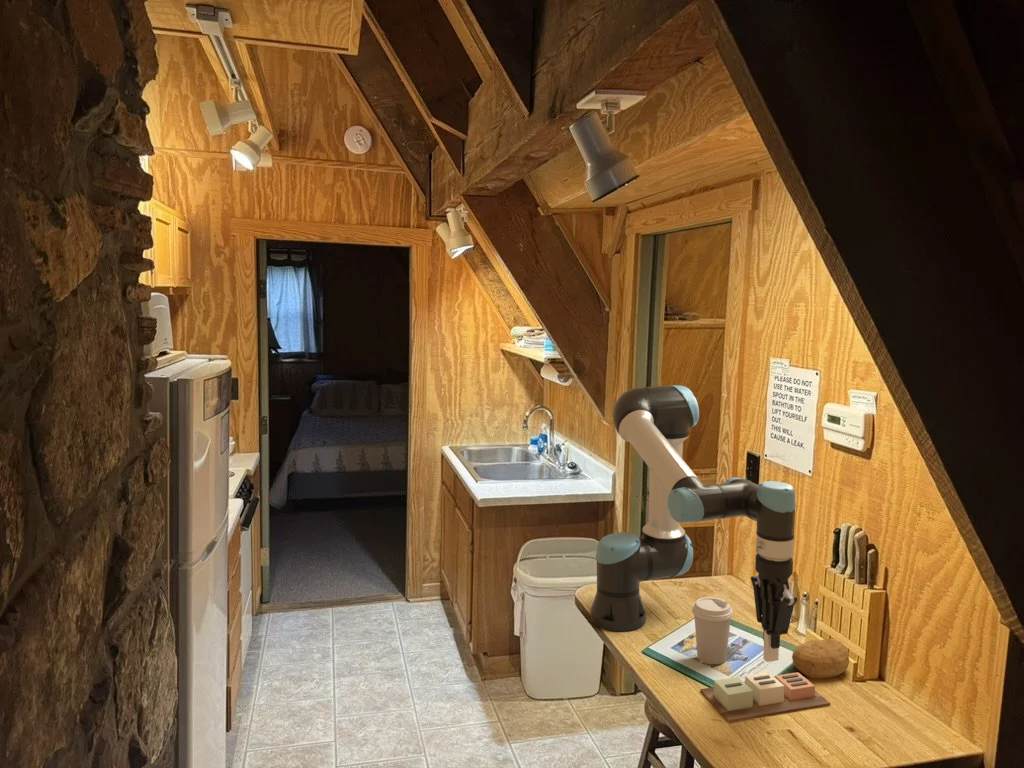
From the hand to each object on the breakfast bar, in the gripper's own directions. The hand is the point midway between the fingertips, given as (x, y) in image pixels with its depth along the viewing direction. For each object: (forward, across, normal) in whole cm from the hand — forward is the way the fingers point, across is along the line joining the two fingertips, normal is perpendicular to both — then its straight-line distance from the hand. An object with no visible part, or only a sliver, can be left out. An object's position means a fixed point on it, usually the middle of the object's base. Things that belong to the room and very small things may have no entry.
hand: (770, 659), depth 154 cm
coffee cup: (+10, -19, -3) cm, 22 cm away
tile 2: (+9, 0, -2) cm, 9 cm away
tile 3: (+10, +1, +6) cm, 11 cm away
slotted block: (+9, 0, -9) cm, 12 cm away
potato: (+10, -6, +18) cm, 21 cm away
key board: (+10, 0, -2) cm, 10 cm away
